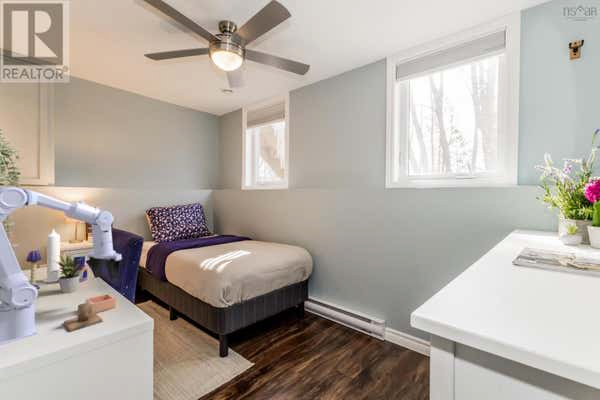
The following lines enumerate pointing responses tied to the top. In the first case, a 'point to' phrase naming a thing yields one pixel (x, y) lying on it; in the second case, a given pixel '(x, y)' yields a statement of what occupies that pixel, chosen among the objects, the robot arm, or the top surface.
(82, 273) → the energy drink
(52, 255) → the candle
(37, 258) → the toy lamp
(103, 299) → the open box
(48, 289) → the top surface
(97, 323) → the mat
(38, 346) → the top surface
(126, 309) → the top surface
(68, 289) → the house plant
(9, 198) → the robot arm
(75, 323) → the lid
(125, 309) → the top surface
